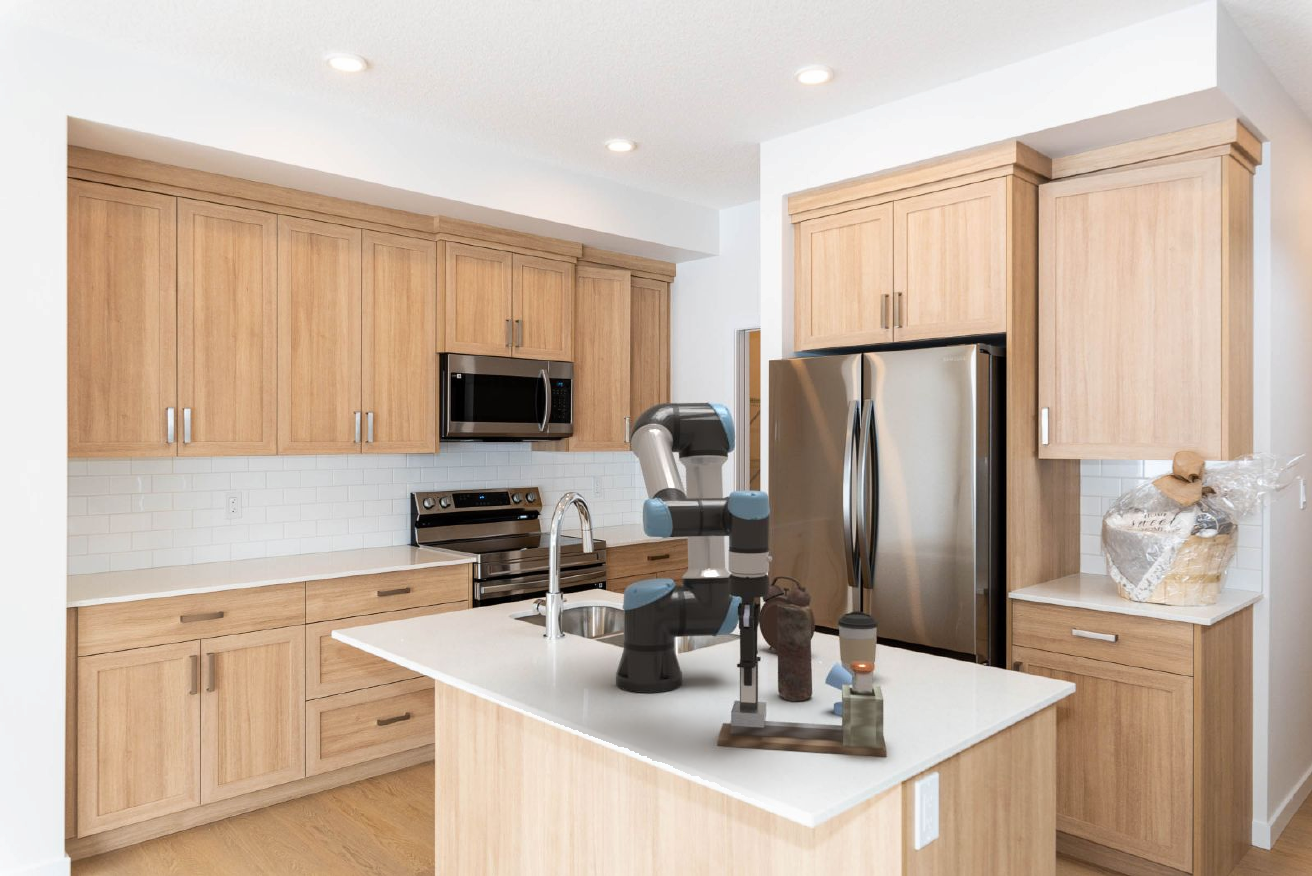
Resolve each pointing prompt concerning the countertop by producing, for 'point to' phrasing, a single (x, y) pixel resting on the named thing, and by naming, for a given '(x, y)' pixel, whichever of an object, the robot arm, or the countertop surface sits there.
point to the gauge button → (862, 677)
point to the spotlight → (838, 683)
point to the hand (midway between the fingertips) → (748, 699)
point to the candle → (794, 652)
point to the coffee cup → (857, 638)
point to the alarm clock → (770, 609)
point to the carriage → (749, 709)
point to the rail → (792, 744)
